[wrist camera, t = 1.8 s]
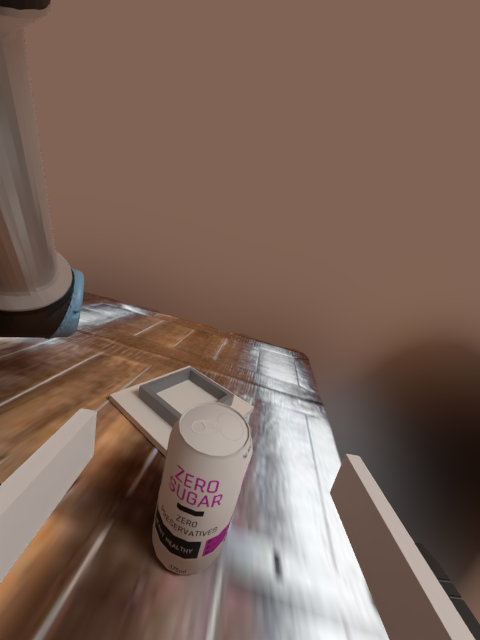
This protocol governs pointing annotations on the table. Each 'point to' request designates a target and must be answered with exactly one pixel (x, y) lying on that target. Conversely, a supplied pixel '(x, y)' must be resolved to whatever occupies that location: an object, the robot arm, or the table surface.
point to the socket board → (171, 402)
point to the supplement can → (200, 485)
